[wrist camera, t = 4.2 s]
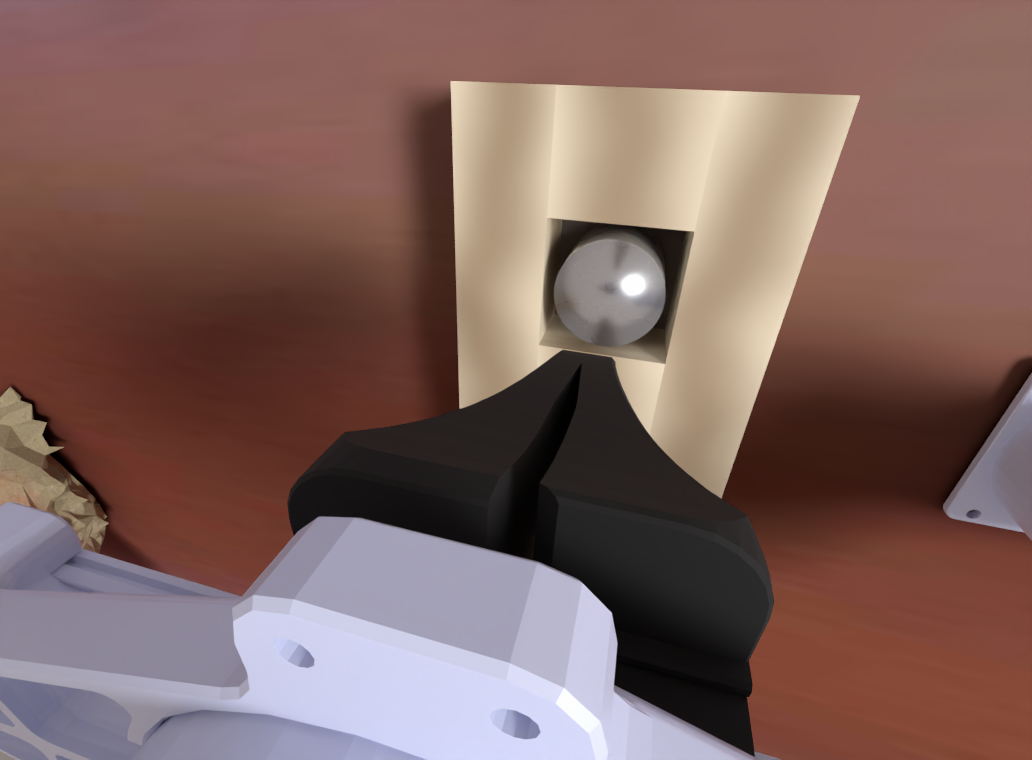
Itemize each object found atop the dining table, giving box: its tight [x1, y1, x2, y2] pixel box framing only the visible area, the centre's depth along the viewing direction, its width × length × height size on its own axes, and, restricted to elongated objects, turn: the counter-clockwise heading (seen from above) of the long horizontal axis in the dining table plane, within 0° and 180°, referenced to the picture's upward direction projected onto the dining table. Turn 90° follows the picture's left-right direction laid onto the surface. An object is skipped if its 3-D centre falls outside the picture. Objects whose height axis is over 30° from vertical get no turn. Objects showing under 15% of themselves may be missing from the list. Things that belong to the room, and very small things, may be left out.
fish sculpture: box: [0, 387, 109, 553], centre depth 36 cm, size 18×32×15 cm, turn 54°
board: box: [451, 81, 860, 498], centre depth 22 cm, size 12×24×4 cm, turn 178°
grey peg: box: [554, 223, 665, 347], centre depth 19 cm, size 4×4×3 cm
